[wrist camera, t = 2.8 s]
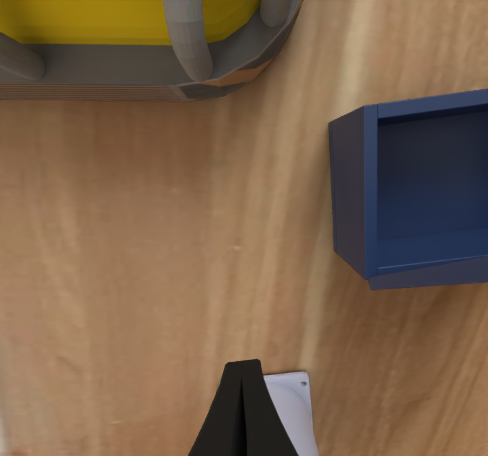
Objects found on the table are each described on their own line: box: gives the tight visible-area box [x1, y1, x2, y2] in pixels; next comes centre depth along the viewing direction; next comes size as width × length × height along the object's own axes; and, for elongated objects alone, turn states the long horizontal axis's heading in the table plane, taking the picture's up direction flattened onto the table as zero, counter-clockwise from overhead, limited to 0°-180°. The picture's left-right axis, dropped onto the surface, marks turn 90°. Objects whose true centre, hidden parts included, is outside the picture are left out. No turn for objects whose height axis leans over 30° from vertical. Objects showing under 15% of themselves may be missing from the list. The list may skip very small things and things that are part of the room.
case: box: [329, 89, 488, 280], centre depth 16 cm, size 9×14×5 cm, turn 97°
